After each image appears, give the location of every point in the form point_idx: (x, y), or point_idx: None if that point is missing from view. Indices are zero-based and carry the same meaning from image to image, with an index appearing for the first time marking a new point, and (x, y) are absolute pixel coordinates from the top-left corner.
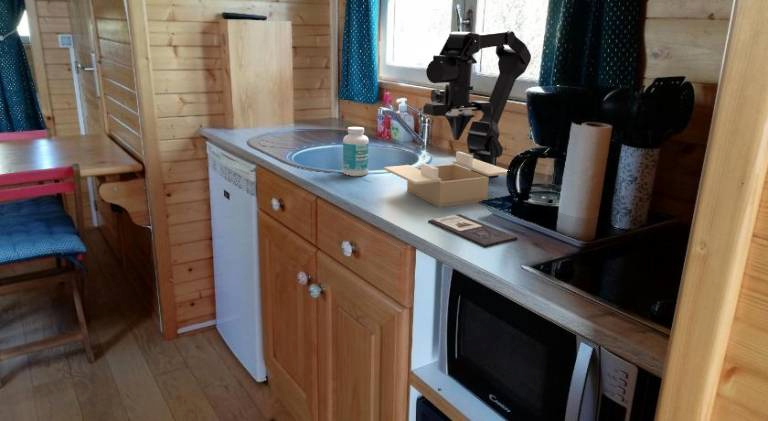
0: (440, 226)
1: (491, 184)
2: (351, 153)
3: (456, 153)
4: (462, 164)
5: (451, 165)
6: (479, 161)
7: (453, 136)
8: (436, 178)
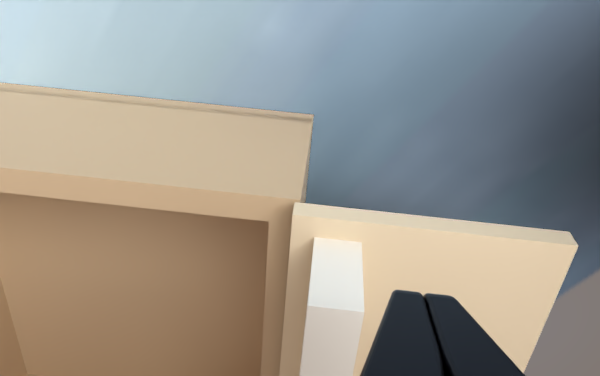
0: None
1: (580, 223)
2: None
3: (309, 295)
4: (282, 346)
5: (261, 217)
6: (502, 348)
7: (377, 334)
8: None
